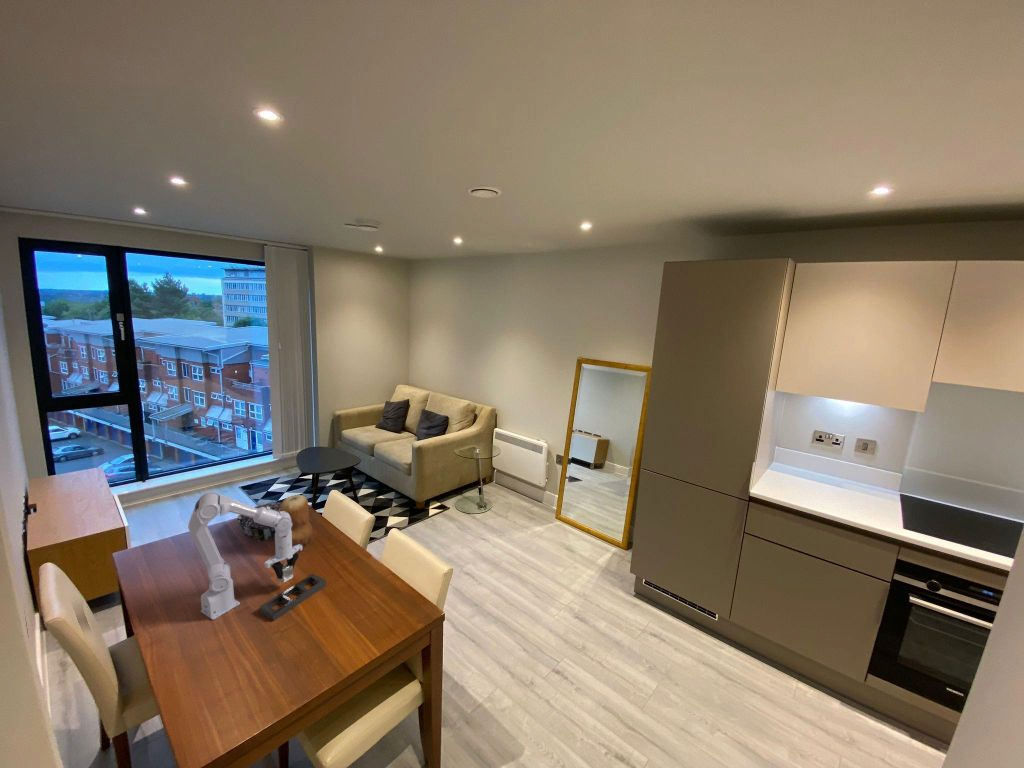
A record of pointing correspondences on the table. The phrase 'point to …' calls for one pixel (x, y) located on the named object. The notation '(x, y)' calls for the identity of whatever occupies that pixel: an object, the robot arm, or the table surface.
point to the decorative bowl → (258, 525)
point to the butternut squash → (298, 519)
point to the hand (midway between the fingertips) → (285, 574)
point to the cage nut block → (286, 572)
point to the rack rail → (289, 603)
